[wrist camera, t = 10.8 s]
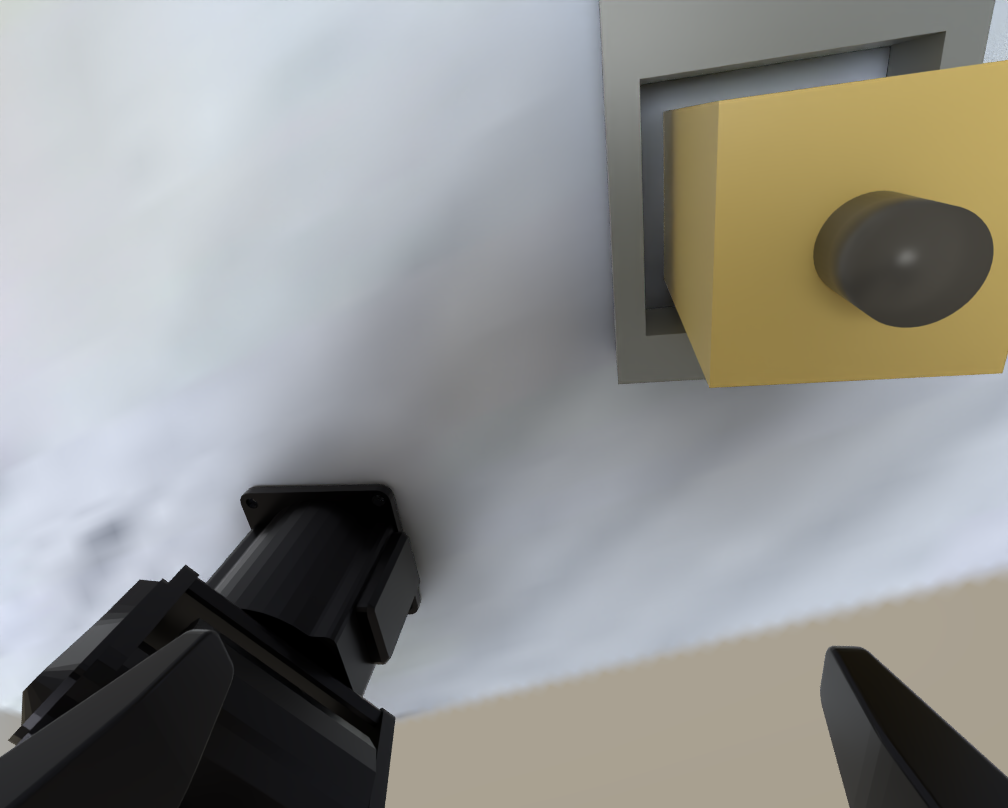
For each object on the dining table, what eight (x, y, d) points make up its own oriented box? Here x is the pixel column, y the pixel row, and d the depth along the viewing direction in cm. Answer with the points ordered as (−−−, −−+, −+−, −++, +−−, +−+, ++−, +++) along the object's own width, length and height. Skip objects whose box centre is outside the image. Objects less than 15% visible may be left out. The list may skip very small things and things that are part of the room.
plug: (663, 279, 17) (727, 430, 9) (663, 111, 15) (743, 95, 7) (827, 265, 16) (1074, 418, 8) (849, 85, 14) (1208, 30, 6)
